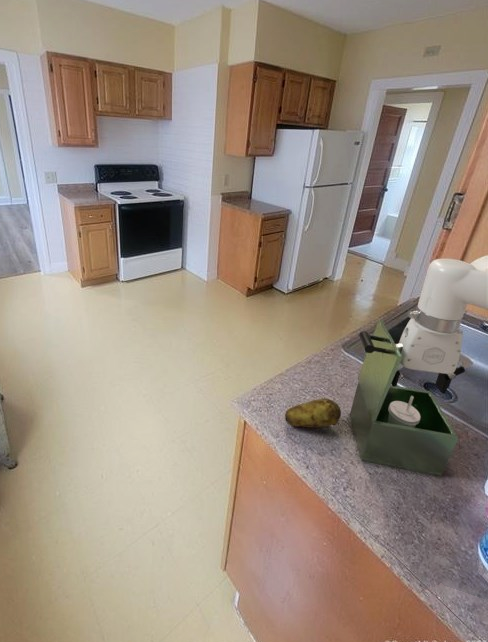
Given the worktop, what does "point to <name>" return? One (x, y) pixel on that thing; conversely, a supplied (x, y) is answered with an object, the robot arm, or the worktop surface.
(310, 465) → the worktop surface
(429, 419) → the caddy
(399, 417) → the smoothie
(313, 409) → the potato
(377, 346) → the lid
